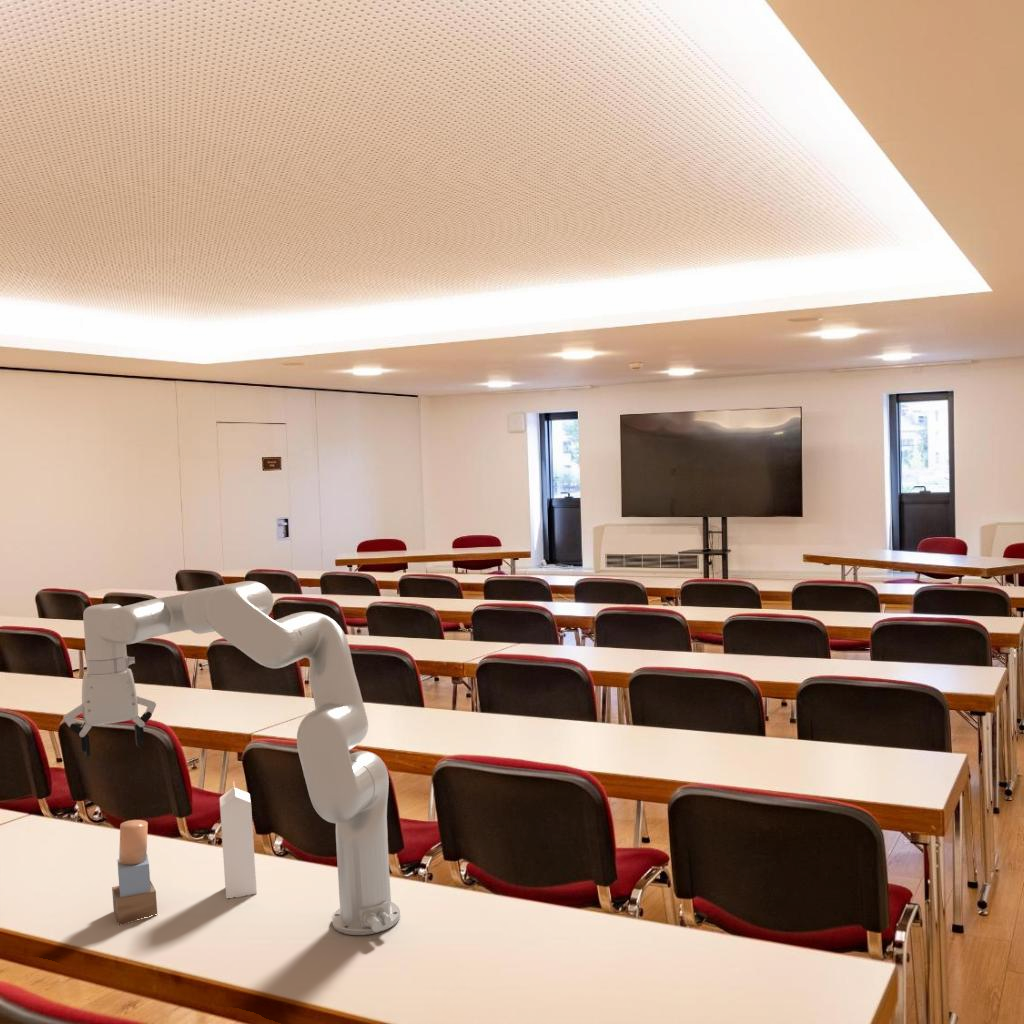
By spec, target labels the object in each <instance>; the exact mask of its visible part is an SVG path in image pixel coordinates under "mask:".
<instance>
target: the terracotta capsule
mask: <svg viewBox="0 0 1024 1024" xmlns="http://www.w3.org/2000/svg"><path fill="white" fill-rule="evenodd" d="M148 825H149V823H148V821H146V820H142V819H132V820H130V819H129V820H127V821H123V822H121V823H120V827H119V852H118V853H119V854H118V859H119V862H120V863H122V864H127V865H132V864H139V863H142V862H144V861H145V860H146V857H147V856H148V853H147V850H148V831H149V829H148V827H149V826H148Z"/></svg>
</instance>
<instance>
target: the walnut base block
mask: <svg viewBox="0 0 1024 1024" xmlns="http://www.w3.org/2000/svg"><path fill="white" fill-rule="evenodd" d="M150 887H151V892H146V893H141V894H136V895H131V896H126V897H122V898H120V890H119V885H116V886H112V887H111V893H112V905H113V913H114V916H115V918H117V919H116V921H117V923H119V924H118V926H121V925H120V924H122V925H126V924H129V923H128V922H130V923H132V922H131V921H134V922H136V921H135V920H137V919H141V918H144V917H149V916H151V915H155V914H157V915H158V905H157V904H158V903H157V902H158V901H157V891H156V889H155V886H154V884H153V883H152V880H150ZM149 918H150V917H149ZM141 920H142V919H141ZM137 921H138V920H137ZM125 923H126V924H125Z"/></svg>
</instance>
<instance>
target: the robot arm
mask: <svg viewBox="0 0 1024 1024" xmlns="http://www.w3.org/2000/svg"><path fill="white" fill-rule="evenodd" d="M273 606H274V597H273V593H272V592H271V590H270V589H269V588H268V586H266V585H265V584H263V583H261V582H259V581H256V580H255V581H253V580H245V581H239V582H235V583H228V584H222V585H218V586H211V587H205V588H200V589H199V588H198V589H193V590H190V591H188V592H187V593H180V594H176V595H170V596H164V597H158V598H153V599H149V600H143V601H139V602H136V603H132V604H128V605H127V604H126V605H124V606H122V605H120V604H118V603H101V604H100V603H99V604H94V605H90V606H87V607H86V608H85V609H84V611H83V614H82V615H83V632H84V644H85V645H84V647H85V658H86V659H85V660H86V673H85V674H83V677H82V683H81V704H80V705H78V706H77V707H75V708H73V709H72V710H71V711H69V712H67V713H66V714H64V715H63V720H64V722H65V723H66V725H67V727H69V729H70V730H71V731H72V732H74V733H75V734H76V735H78V736H79V737H80V749H81V753H83V752H84V754H85V756H86V757H90V756H91V746H90V736H89V733H88V732H89V731H90V730H91V729H92V727H94V726H100V725H107V724H108V725H109V724H113V723H114V724H115V723H120V722H127V721H132V722H133V723H135V725H134V739H135V741H134V742H135V745H136V746H137V748H142V743H143V742H145V732H144V731H145V730H144V727H145V725H146V724H147V723H148V721H149V720H150V719H151V718H152V715H153V713H154V711H155V708H156V706H157V703H156V702H155V701H152V700H150V699H147V698H144V697H140V696H137V689H136V683H135V679H134V674H133V672H132V669H131V668H129V667H130V665H132V664H136V659H135V656H129V655H128V653H127V652H128V651H127V645H132V644H136V643H141V642H143V641H145V640H148V639H152V638H155V637H156V638H157V637H159V636H163V635H167V634H173V633H178V632H183V631H185V632H186V631H191V632H192V633H195V634H199V635H201V634H207V633H214V632H216V633H217V634H218V635H219V636H221V637H222V638H223V639H224V640H226V641H227V642H228V643H230V644H231V645H232V646H233V647H235V648H236V649H238V650H240V651H241V652H242V653H244V654H245V655H246V656H247V657H249V658H250V659H252V660H253V661H255V663H257V664H259V665H261V666H264V667H265V668H269V669H280V668H285V667H287V666H289V665H291V664H294V663H295V662H298V661H300V660H302V659H304V658H306V659H308V660H309V671H308V672H309V673H308V675H309V677H308V678H309V685H310V690H311V692H312V696H313V702H314V707H315V708H314V710H312V711H310V712H309V713H307V715H306V716H305V717H303V719H302V720H301V722H300V724H299V726H298V729H297V733H296V749H297V752H298V757H299V760H300V764H301V767H302V773H303V777H304V779H305V785H306V788H307V792H308V795H309V798H310V799H309V800H310V801H311V804H312V807H313V808H314V810H315V812H316V813H317V814H318V815H319V817H320V818H322V819H323V820H324V821H326V822H328V823H331V824H335V843H336V845H335V846H336V860H337V861H336V862H337V876H338V877H337V879H338V895H339V908H338V909H337V910H336V911H335V912H334V913H333V915H332V917H331V919H332V920H331V922H332V926H333V929H335V930H336V931H337V932H338V933H339V932H340V933H342V934H345V935H349V936H366V935H367V936H368V935H374V934H377V933H380V932H384V931H386V930H389V929H390V928H392V927H393V926H394V925H396V924H397V923H398V922H399V920H400V918H401V909H400V907H399V905H397V904H396V903H394V902H392V897H391V893H392V892H391V879H390V877H391V876H390V861H389V860H390V859H389V858H390V857H389V843H388V841H389V840H388V837H389V835H388V817H387V816H388V798H389V788H390V787H389V785H390V784H389V783H390V781H389V773H388V770H387V766H386V764H385V762H384V761H383V760H382V758H381V757H380V756H379V755H377V754H376V753H373V752H371V751H366V750H360V751H355V752H353V753H350V750H352V749H353V748H355V747H356V746H357V745H359V743H361V742H362V741H363V740H364V739H365V738H366V736H367V734H368V731H369V720H368V716H367V713H366V708H365V705H364V701H363V697H362V694H361V689H360V686H359V685H360V684H359V682H358V679H357V676H356V672H355V667H354V664H353V658H352V653H351V649H350V646H349V645H350V643H349V641H348V638H347V636H346V634H345V631H344V630H343V629H342V627H341V625H339V624H338V623H337V622H336V621H335V619H333V618H331V617H330V616H329V615H326V614H323V613H321V612H316V611H300V612H294V613H291V614H289V615H286V616H284V617H281V618H278V619H275V620H274V619H273V618H271V617H270V616H269V615H270V614H271V612H272V610H273ZM139 705H141V706H143V707H146V710H145V712H143V714H142V715H141V716H139V715H138V714H139ZM81 714H82V719H83V721H84V722H83V723H82V725H81V726H80V725H78V724H77V723H76V722H75V721H74V718H76V717H77V716H79V715H81Z"/></svg>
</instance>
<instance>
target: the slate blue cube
mask: <svg viewBox="0 0 1024 1024" xmlns="http://www.w3.org/2000/svg"><path fill="white" fill-rule="evenodd" d="M116 862H117V874H118V875H117V876H118V886H119V890H120V898H122V897H126V896H131V895H136V894H141V893H146V892H151V887H150V881H151V876H150V861H149V857H148V855H147V857H146V860H145V861H144V862H142V863H139V864H132V865H127V864H122V863H120V862H119V858H118V859H117V860H116Z"/></svg>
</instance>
